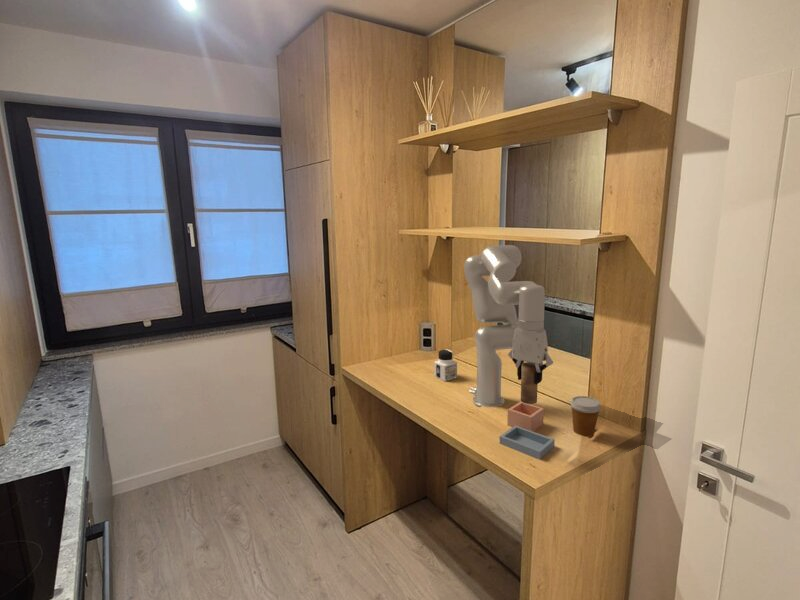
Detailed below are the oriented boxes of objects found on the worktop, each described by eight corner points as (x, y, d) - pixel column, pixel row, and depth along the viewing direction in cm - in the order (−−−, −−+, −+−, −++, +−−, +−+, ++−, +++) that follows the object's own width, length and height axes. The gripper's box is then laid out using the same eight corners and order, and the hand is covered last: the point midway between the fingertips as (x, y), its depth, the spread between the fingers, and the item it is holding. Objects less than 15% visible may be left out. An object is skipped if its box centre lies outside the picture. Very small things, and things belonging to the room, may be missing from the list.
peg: (517, 401, 137) (518, 365, 135) (525, 396, 140) (526, 361, 138) (532, 405, 134) (533, 368, 131) (539, 400, 137) (541, 364, 135)
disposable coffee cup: (588, 444, 141) (591, 410, 138) (563, 432, 148) (564, 400, 146) (604, 435, 146) (606, 402, 144) (578, 424, 154) (580, 393, 151)
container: (445, 381, 196) (445, 354, 193) (434, 376, 202) (433, 350, 199) (457, 377, 200) (457, 351, 198) (446, 373, 206) (446, 347, 204)
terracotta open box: (507, 427, 153) (507, 409, 151) (520, 418, 159) (520, 401, 157) (530, 436, 146) (531, 417, 145) (543, 426, 153) (543, 408, 151)
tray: (499, 446, 141) (499, 436, 140) (515, 434, 148) (515, 425, 147) (539, 462, 131) (539, 452, 130) (554, 449, 138) (554, 439, 137)
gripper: (500, 323, 136) (499, 378, 139) (552, 331, 124) (549, 391, 127) (512, 319, 141) (511, 371, 144) (563, 326, 129) (560, 383, 133)
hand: (529, 380), depth 136 cm, fingers closed on peg, 5 cm apart
